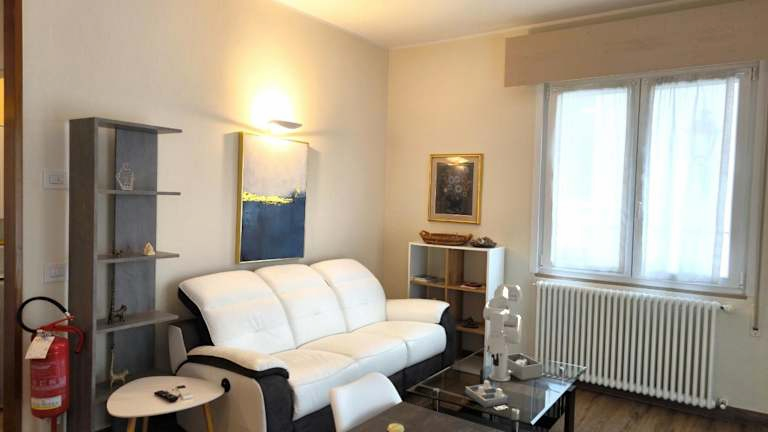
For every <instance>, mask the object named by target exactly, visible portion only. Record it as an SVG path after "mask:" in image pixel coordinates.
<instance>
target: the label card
mask: <svg viewBox="0 0 768 432" xmlns="http://www.w3.org/2000/svg"><path fill="white" fill-rule="evenodd" d="M506 408H507V409H509V407H508V406H507V405H505V404H501V405H496V406H493V409H495V410H496V411H503V410H506Z"/></svg>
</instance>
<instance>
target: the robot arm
mask: <svg viewBox="0 0 768 432" xmlns="http://www.w3.org/2000/svg"><path fill="white" fill-rule="evenodd" d="M522 299H523V292H522V288H521V287H520V286H519V285H517V284H505V283H504V284H499V285H498V286H496V289H495V290H494V293H493V297H492V298H490V300H488V301H487V302H486V303H485V305H484V309H483V313H482V314H483V315H482V316H483V319H484V320H486V321H489V334H488V336H487V341H486V349H485V350H486V352H487V356H488V357H491V373H489V375H488V377H489V379H490V380H492V381H495V382H508V381H510V380H511V375H512V374H514V370H512V371H510V370H508V355H509V349H508V346H507V345H506V344H512V345H517V344H520V343H521V338H522V328H523V327H522V326H523V320H522V317H521V316H520V315H519V314H515V313H511V311H512V310H511V308H510V306H509V303H520V302H521V301H522Z"/></svg>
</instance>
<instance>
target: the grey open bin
mask: <svg viewBox="0 0 768 432" xmlns="http://www.w3.org/2000/svg"><path fill="white" fill-rule="evenodd" d="M521 353H522V352H517V353H508V370H510V371H512V370H514V374H511V375H512V376H514V377H516V378H518V379H519V380H521V381H525V380H530V379H535V378H536V379H537V378H542V377H543V363H542V362H540V361H538V360H536V359H533V358H532V357H529V356H528V355H525V354H524V353H523V354H522V356H523V357H524V358H527V360H528V366H521V365H519V364H517V363H515V362H516V361H517V360H518V358H519V357H521V356H520V354H521Z"/></svg>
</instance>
